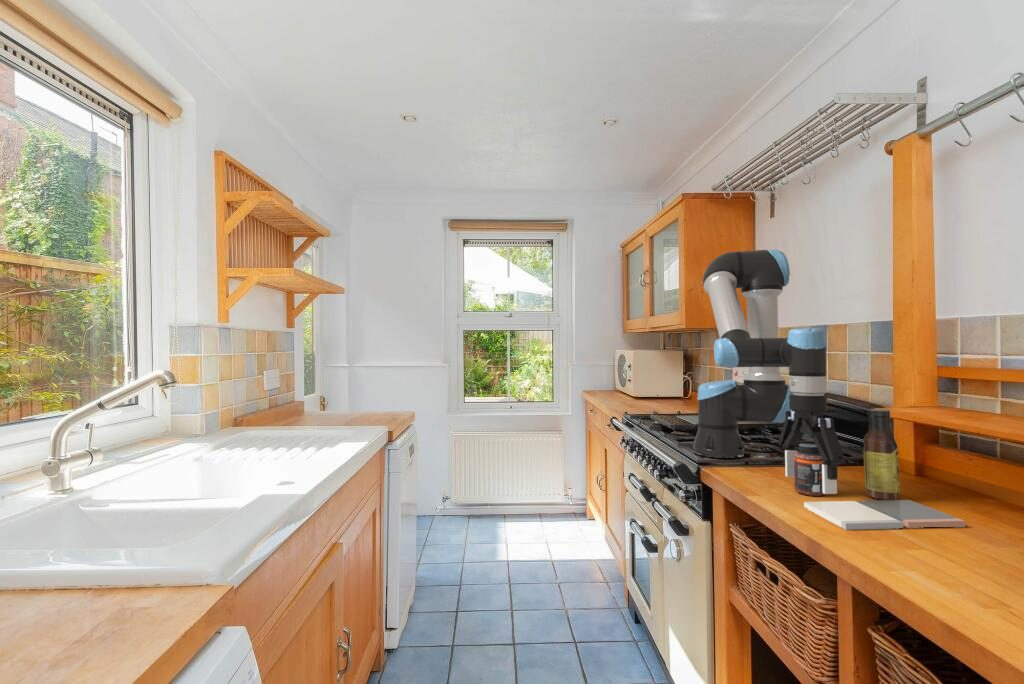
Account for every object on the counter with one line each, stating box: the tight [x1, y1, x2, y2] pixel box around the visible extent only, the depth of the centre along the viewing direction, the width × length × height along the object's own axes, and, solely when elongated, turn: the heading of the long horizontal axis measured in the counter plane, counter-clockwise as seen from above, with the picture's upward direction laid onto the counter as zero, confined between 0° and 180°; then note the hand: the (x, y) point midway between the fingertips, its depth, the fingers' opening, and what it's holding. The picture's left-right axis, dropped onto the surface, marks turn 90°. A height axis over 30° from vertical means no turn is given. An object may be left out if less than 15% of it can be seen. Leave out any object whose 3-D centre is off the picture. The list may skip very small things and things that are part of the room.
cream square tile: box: [803, 500, 904, 531], centre depth 95 cm, size 12×11×1 cm
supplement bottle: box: [794, 443, 825, 497], centre depth 110 cm, size 6×6×11 cm
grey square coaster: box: [858, 499, 966, 529], centre depth 95 cm, size 12×11×1 cm
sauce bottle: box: [862, 408, 901, 500], centre depth 107 cm, size 6×6×20 cm
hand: (809, 484), depth 110 cm, fingers open, 13 cm apart
